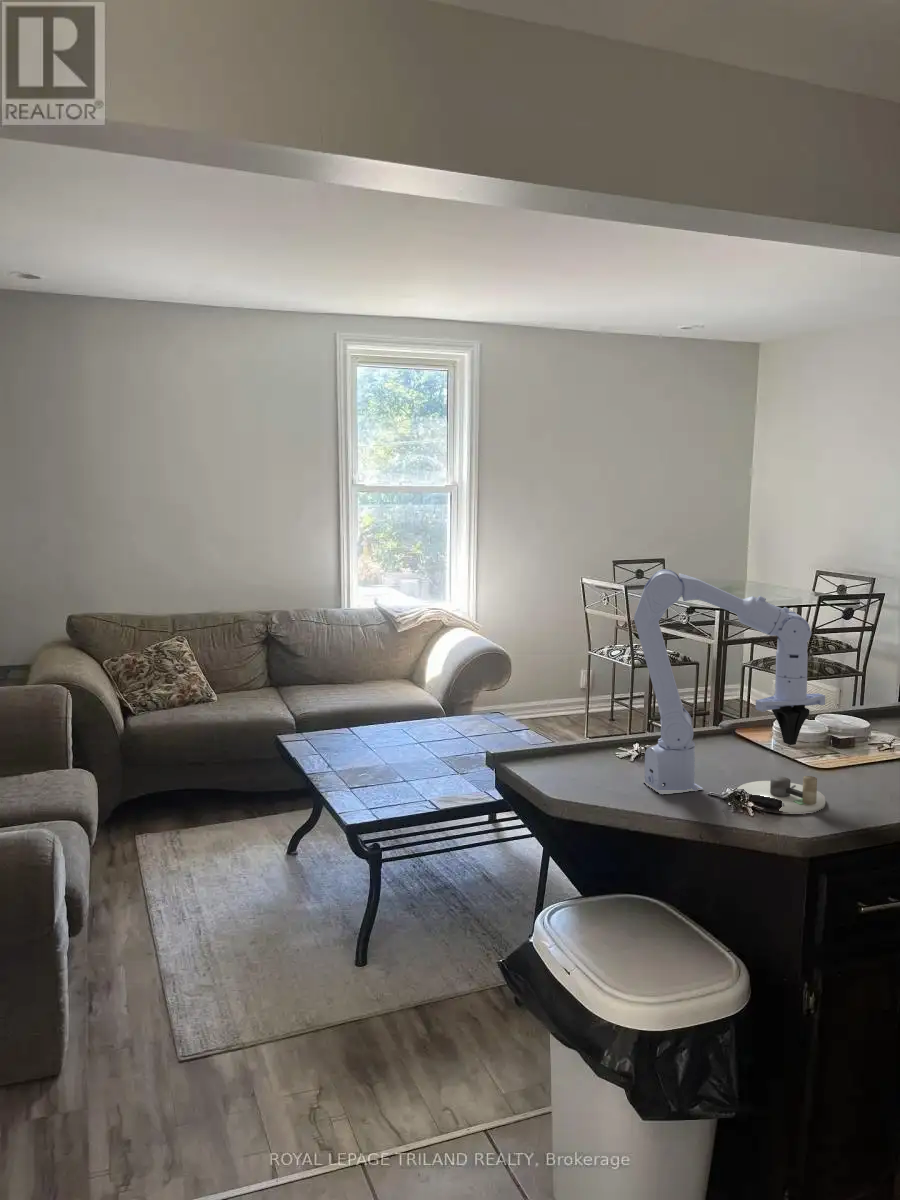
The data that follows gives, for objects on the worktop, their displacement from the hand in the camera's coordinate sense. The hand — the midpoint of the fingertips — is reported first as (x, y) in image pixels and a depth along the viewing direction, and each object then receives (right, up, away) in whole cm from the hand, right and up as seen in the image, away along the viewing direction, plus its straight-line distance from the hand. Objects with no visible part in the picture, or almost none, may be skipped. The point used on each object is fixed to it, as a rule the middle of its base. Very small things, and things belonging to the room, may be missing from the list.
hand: (789, 743), depth 168 cm
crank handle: (-1, -9, -5) cm, 11 cm away
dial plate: (-3, -10, -3) cm, 11 cm away
